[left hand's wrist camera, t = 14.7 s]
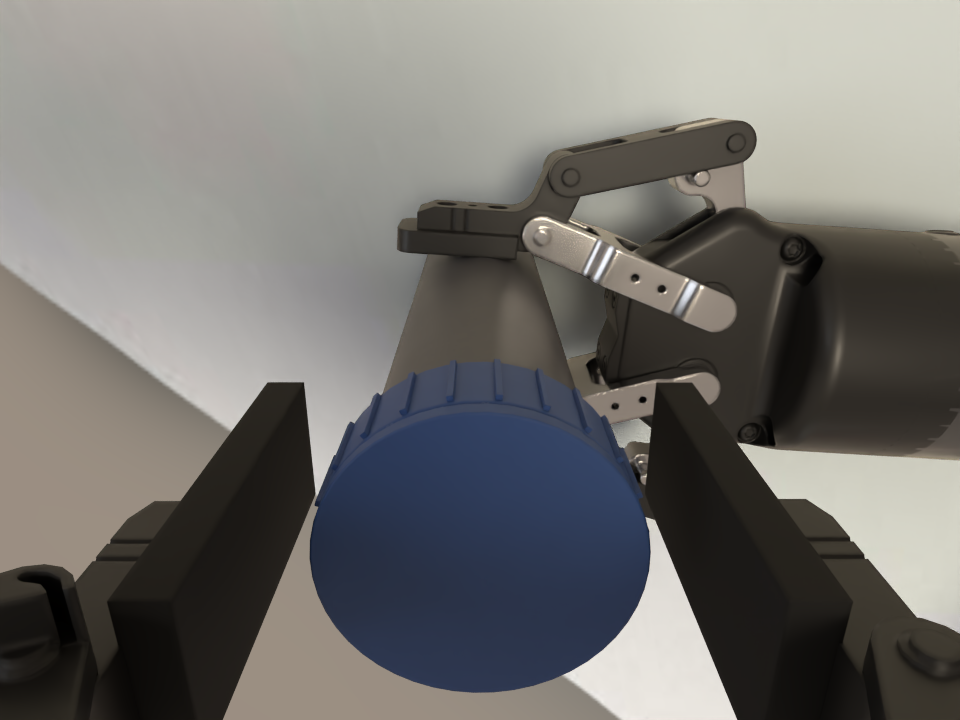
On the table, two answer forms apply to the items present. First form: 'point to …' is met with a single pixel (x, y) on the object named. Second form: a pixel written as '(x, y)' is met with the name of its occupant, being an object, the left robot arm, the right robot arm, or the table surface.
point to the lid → (480, 530)
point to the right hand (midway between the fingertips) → (400, 313)
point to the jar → (480, 318)
